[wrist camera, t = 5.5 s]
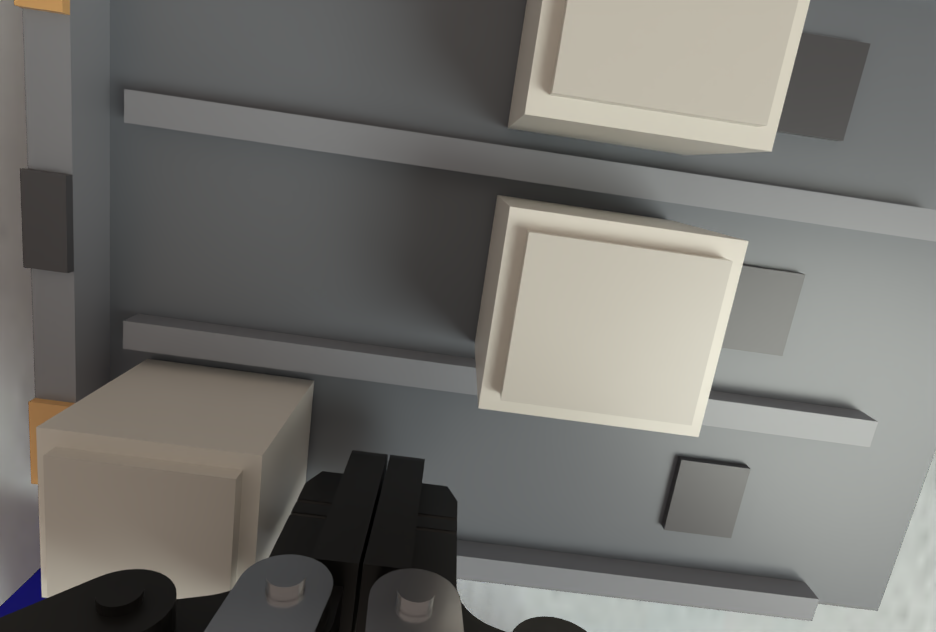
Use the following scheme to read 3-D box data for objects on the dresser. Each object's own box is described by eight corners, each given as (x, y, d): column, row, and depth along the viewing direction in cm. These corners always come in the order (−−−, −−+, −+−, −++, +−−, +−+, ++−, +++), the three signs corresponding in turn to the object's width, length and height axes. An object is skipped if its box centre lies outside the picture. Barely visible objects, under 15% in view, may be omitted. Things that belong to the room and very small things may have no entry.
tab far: (314, 380, 13) (256, 464, 10) (303, 510, 14) (244, 634, 10) (147, 358, 13) (22, 435, 9) (145, 490, 14) (29, 609, 10)
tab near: (724, -21, 11) (848, -109, 8) (685, 154, 12) (781, 151, 8) (534, -51, 11) (568, -157, 7) (507, 128, 12) (526, 112, 8)
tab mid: (670, 219, 12) (758, 243, 9) (637, 366, 13) (705, 446, 9) (497, 194, 12) (511, 207, 9) (474, 344, 13) (479, 415, 9)
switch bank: (1044, 3, 13) (1188, -37, 10) (847, 580, 16) (917, 657, 14) (71, -158, 12) (-34, -244, 9) (81, 485, 15) (4, 550, 13)
